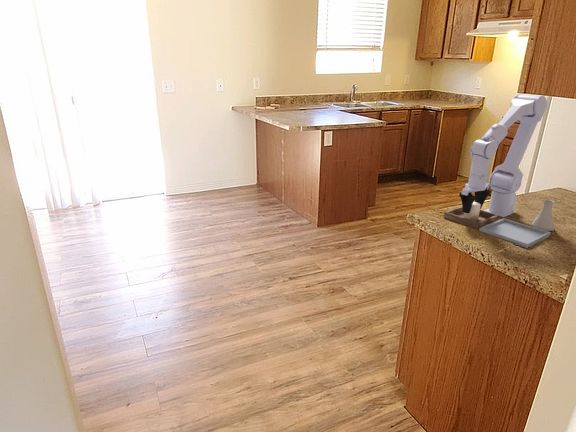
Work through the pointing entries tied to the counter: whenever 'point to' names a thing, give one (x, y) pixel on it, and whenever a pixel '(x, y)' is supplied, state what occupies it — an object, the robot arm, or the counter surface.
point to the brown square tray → (458, 217)
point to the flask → (545, 217)
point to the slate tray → (515, 232)
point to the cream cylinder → (473, 212)
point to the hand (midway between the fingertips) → (471, 210)
